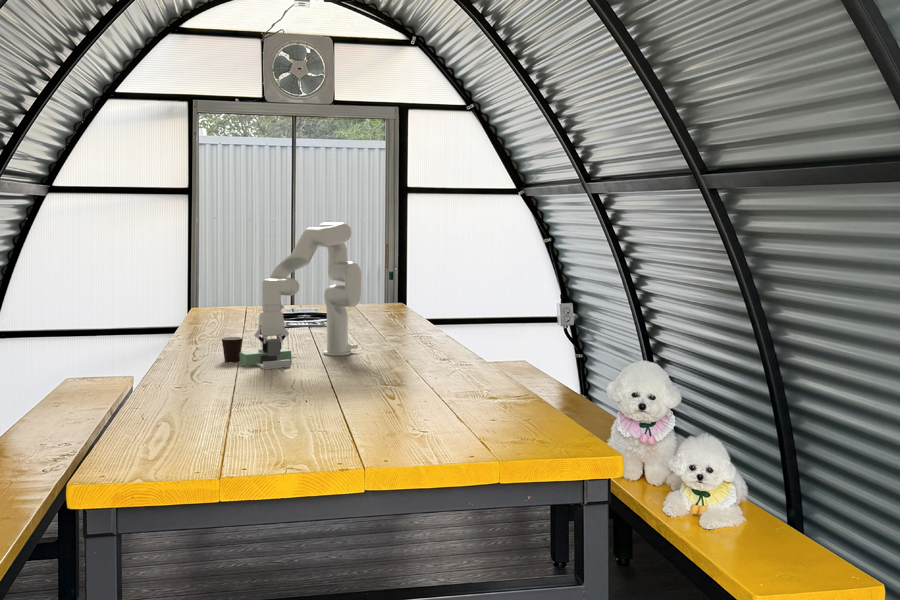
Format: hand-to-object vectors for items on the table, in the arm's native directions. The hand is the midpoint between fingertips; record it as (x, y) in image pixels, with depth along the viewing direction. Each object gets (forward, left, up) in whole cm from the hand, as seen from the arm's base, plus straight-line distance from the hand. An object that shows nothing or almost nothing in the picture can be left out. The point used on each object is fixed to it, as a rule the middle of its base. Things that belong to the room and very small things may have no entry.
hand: (271, 351), depth 336 cm
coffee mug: (+10, -21, -6) cm, 24 cm away
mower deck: (0, -4, -6) cm, 7 cm away
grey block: (0, 0, -1) cm, 1 cm away
